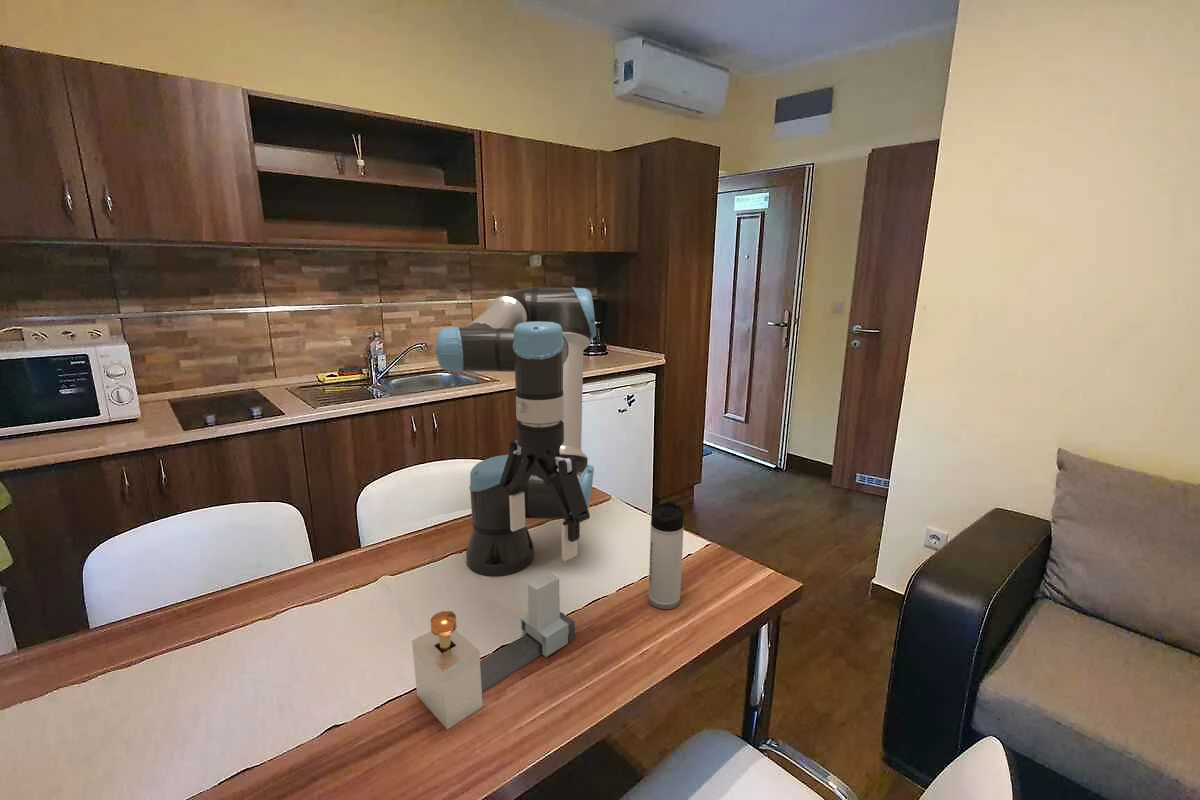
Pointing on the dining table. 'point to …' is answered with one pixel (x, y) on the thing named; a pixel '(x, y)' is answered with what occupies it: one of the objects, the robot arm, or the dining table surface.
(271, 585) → the dining table surface
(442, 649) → the knob
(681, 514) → the travel mug
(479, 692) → the rail
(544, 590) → the carriage
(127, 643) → the dining table surface
